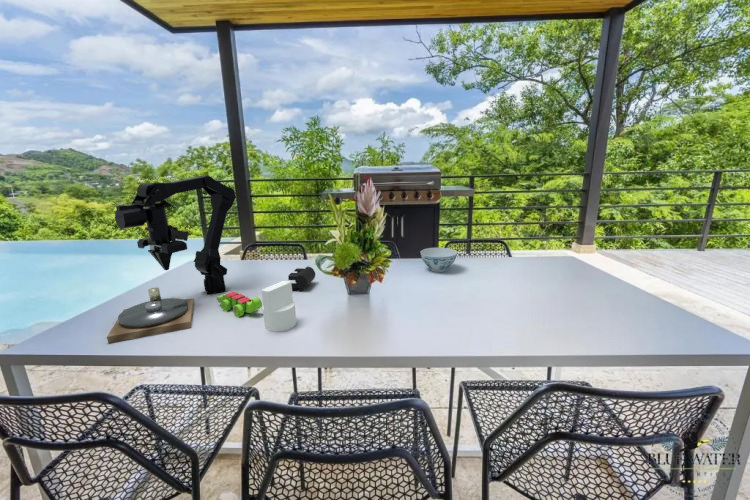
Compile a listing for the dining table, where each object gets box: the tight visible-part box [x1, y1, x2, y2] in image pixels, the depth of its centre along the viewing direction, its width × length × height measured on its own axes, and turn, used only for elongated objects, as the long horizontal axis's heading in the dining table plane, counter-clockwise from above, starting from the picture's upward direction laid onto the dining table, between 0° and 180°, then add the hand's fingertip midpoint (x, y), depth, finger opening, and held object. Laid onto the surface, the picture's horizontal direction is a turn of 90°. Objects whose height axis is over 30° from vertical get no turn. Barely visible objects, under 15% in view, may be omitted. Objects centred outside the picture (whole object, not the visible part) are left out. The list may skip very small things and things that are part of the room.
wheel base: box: [106, 297, 195, 345], centre depth 107 cm, size 20×20×2 cm
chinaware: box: [420, 247, 458, 273], centre depth 147 cm, size 15×15×8 cm
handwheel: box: [117, 287, 188, 328], centre depth 106 cm, size 18×18×6 cm
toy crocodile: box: [216, 291, 263, 318], centre depth 113 cm, size 20×7×6 cm, turn 52°
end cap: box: [287, 266, 316, 292], centre depth 132 cm, size 10×7×7 cm
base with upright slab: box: [261, 280, 297, 333], centre depth 101 cm, size 9×9×12 cm
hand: (166, 269), depth 115 cm, fingers closed
